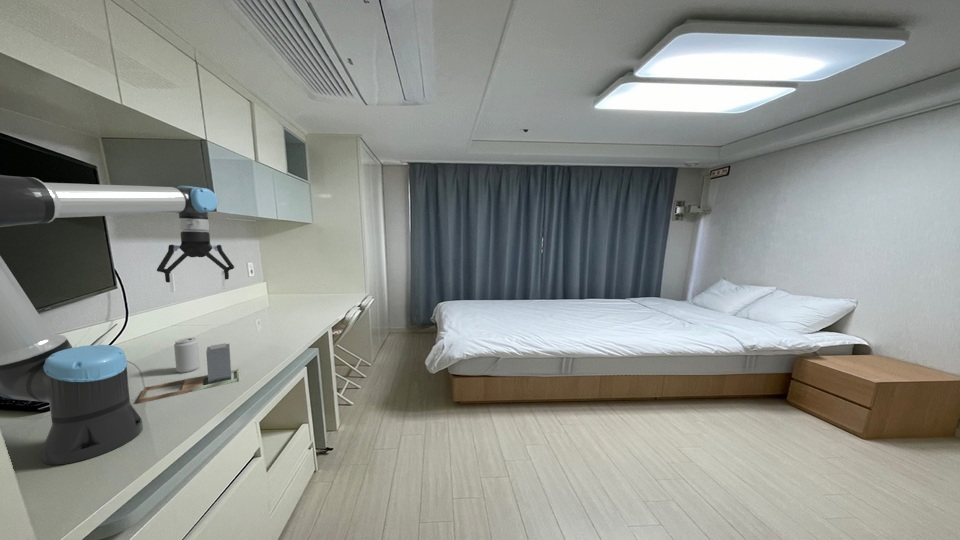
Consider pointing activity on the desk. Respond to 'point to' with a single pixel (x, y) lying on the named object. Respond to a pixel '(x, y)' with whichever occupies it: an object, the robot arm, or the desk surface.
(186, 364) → the beverage can
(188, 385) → the rail
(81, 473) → the desk surface
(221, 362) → the block
